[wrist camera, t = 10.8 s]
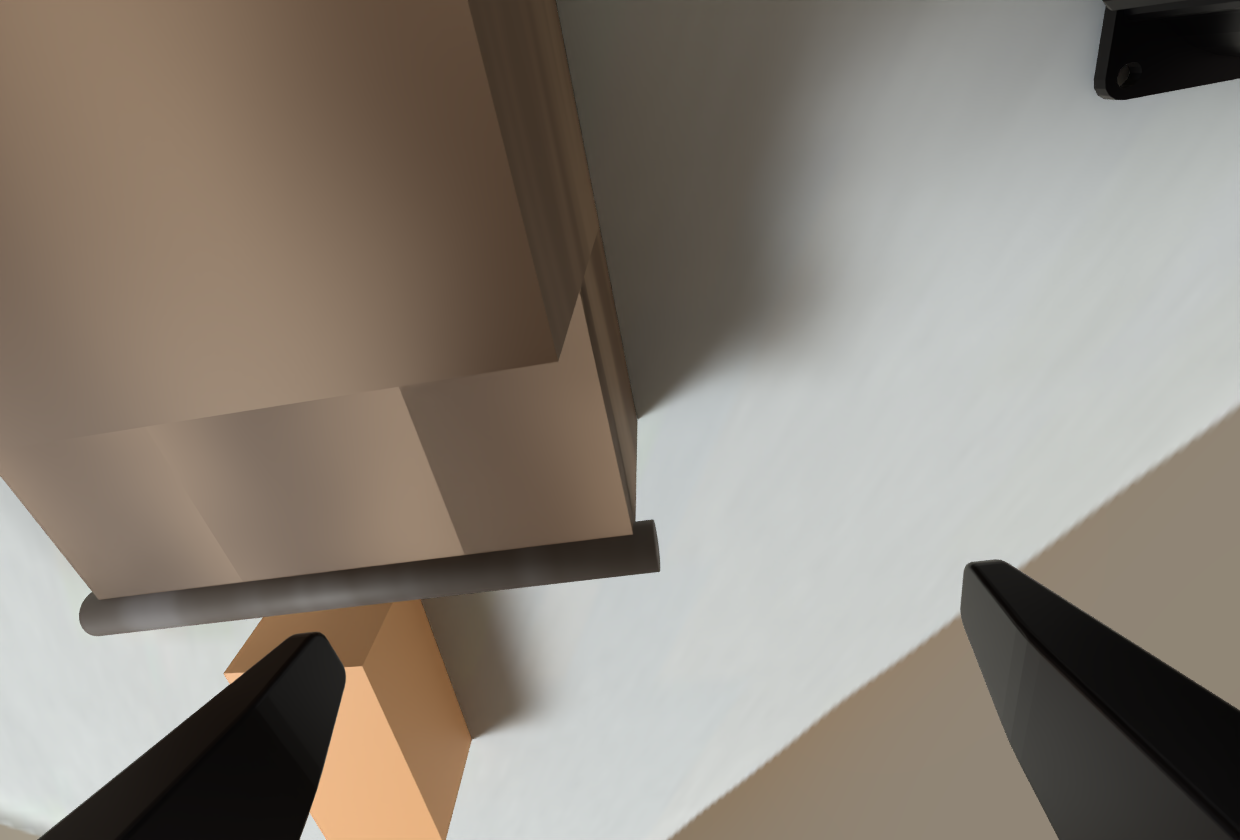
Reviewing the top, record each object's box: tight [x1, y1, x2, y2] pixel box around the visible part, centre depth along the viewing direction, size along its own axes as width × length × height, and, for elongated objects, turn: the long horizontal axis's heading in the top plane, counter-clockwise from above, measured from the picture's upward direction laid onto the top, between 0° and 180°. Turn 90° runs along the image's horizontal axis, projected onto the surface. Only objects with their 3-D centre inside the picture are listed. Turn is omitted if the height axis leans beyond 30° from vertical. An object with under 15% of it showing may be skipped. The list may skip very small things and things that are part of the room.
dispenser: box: [0, 0, 660, 636], centre depth 14 cm, size 15×13×9 cm
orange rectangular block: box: [223, 599, 472, 840], centre depth 23 cm, size 4×10×4 cm, turn 7°
